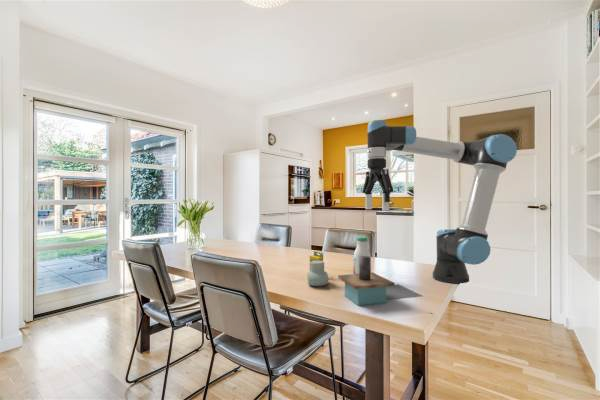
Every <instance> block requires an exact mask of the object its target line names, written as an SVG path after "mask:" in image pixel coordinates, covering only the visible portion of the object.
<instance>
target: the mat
mask: <svg viewBox="0 0 600 400" xmlns="http://www.w3.org/2000/svg"><path fill="white" fill-rule="evenodd" d="M418 297H423V295H422V294H420V293H418V292H415V291H414V290H411V289H409V288H407V287H405V286H403V285H401V284H395V286H386V301H390V300H391V301H392V300H401V299H410V298H418Z"/></svg>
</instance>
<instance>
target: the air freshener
mask: <svg viewBox="0 0 600 400" xmlns="http://www.w3.org/2000/svg"><path fill="white" fill-rule="evenodd" d="M306 274H307V275H306V276H307V277H306V278H307V284H308V285H310V286H311V287H323V286H326V285H327V284H328V283H329V275H328V272H327V271H325V262H324V260H323V261H312V262H311V271H310V270H309V271H308V272H307V273H306Z"/></svg>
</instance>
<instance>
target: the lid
mask: <svg viewBox="0 0 600 400" xmlns="http://www.w3.org/2000/svg"><path fill="white" fill-rule="evenodd" d="M337 278H338V279H339V280H340V281H342V282H343V283H344V284H345V283H346V284H348V285H350V286H351V287H353V288H354V289H364V288H375V287H386V286H395V285H396V284H395V282H393V281H391V280H390V279H387V278H385V277H384V276H381V275H379V274H377V273H375V272H371V273H370V257H368V256H360V257H359V274H354V273H351V274H338V275H337Z"/></svg>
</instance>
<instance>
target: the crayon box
mask: <svg viewBox="0 0 600 400" xmlns="http://www.w3.org/2000/svg"><path fill="white" fill-rule="evenodd" d="M312 261H323V262H324V253H323V252H318V251H316V250H314V251H313V254H312V255H309V272H310V271H311V262H312Z"/></svg>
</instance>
